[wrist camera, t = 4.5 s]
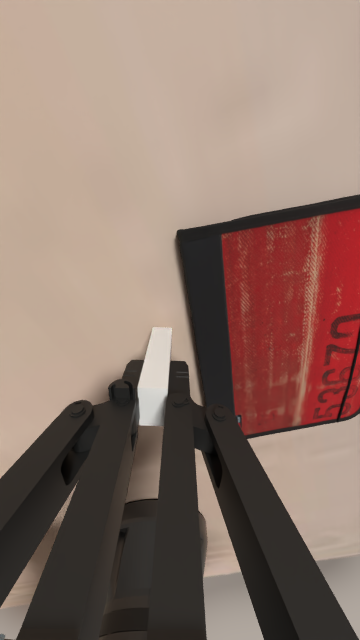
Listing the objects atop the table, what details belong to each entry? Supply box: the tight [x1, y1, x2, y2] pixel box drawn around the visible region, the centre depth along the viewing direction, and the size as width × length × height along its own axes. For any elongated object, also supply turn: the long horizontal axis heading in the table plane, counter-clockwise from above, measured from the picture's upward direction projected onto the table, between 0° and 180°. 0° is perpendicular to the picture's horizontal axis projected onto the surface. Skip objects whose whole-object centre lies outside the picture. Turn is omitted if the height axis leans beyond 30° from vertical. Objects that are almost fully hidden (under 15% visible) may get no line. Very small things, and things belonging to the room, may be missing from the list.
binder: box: [177, 195, 360, 439], centre depth 18 cm, size 16×2×21 cm
